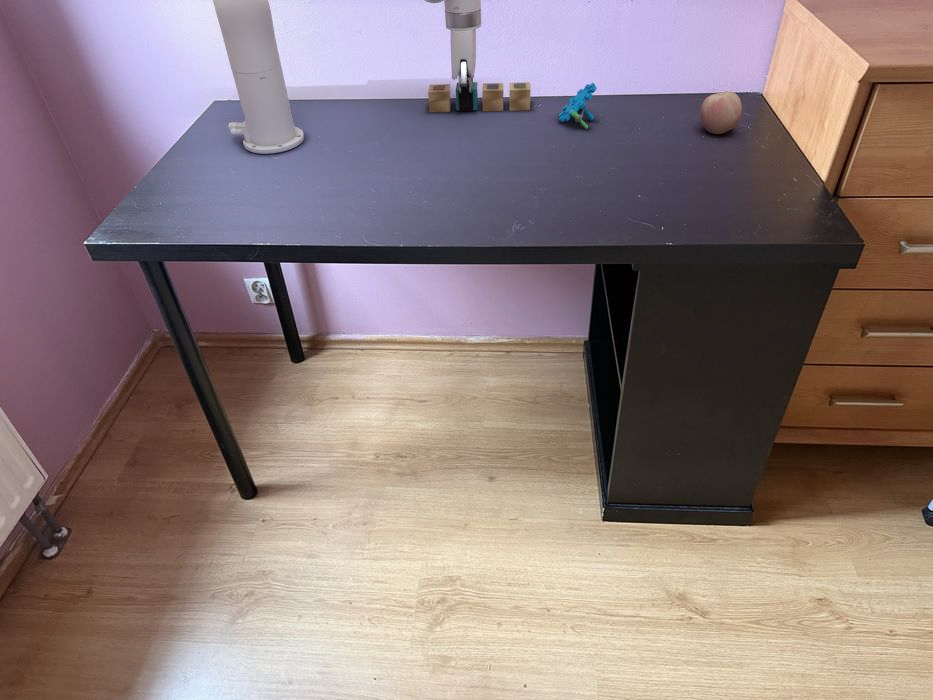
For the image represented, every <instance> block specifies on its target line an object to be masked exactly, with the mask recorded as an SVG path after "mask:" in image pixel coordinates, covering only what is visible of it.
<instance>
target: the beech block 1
mask: <svg viewBox="0 0 933 700" xmlns="http://www.w3.org/2000/svg"><path fill="white" fill-rule="evenodd" d="M451 93H452V91H451V84H450V83H447V84H446V83H444V84H443V83H442V84H441V83H440V84H429V87H428V91H427V96H428V110H429V113H451V109H452V94H451Z"/></svg>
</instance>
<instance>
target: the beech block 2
mask: <svg viewBox="0 0 933 700" xmlns="http://www.w3.org/2000/svg"><path fill="white" fill-rule="evenodd" d="M481 101H482V112H503V111H504V82H489V83H488V82H487V83H486V82H485V83H482V90H481Z"/></svg>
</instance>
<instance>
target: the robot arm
mask: <svg viewBox="0 0 933 700" xmlns="http://www.w3.org/2000/svg"><path fill="white" fill-rule="evenodd" d="M424 2H427V3H429V4H439V3H441V2H443V4H444V21H445V28H446V29H447V30H449V31H450V61H451V63H450V64H451V65H450V67H451V80H456V79H458V83H459V92H458V97H459V110H458V111H460V112H465V111H466V112H467V111H470V112H471V111H474V110H473V92H472V86H471V82H474V78H475V73H476V65H477V30H478V29H480V28H481V27H482V0H424ZM212 3H213V7H214V10H215V14H216V18H217V21H218V25H219V29H220V32H221V36H222V39H223V43H224V46H225V51H226V55H227V58H228V62H229V66H230V70H231V72H232V76H233V80H234V84H235V88H236V91H237V95H238V98H239V102H240V107H241V110H242V114H243V118H244V120H243V121H242V122H238V121H235V122H233V121H232V122H231V121H230V122H228V124H227V125H228V126H227V127H228V129H229V132H230V135H231V136H242V137H244V138H243V139H242V143H243V147H244V148H245V150H247V151H249V152H251V153H254V154H259V155H260V154H261V155H269V154H270V155H271V154H277V153H283V152H287V151H290V150H292V149H295V148H296V147H298V146H300V145H301V144H302V143H303V142H304V140H305V133H304V131H303V129H302V128H300V127H298V126H295V123H294V119H293V113H292V108H291V104H290V100H289V95H288V90H287V86H286V81H285V75H284V72H283V66H282V61H281V60H280V54H279V49H278V43H277V39H276V34H275V28H274V22H273V16H272V11H271V5H270V2H269V0H212ZM467 82H469V84H468V83H467Z"/></svg>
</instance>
